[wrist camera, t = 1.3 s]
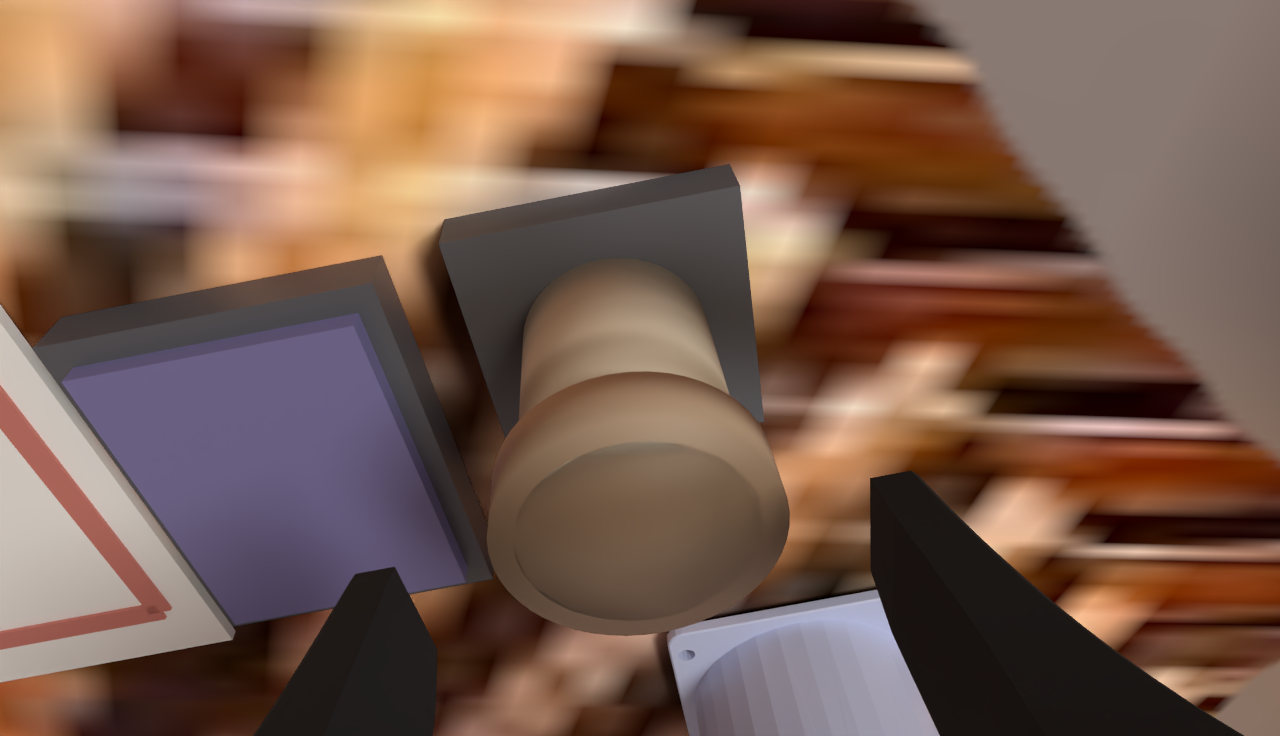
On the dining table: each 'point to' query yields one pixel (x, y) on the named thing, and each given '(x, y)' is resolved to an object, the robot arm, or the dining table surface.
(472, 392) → the dining table surface
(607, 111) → the dining table surface
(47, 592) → the paper
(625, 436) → the stamp
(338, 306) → the ink pad
